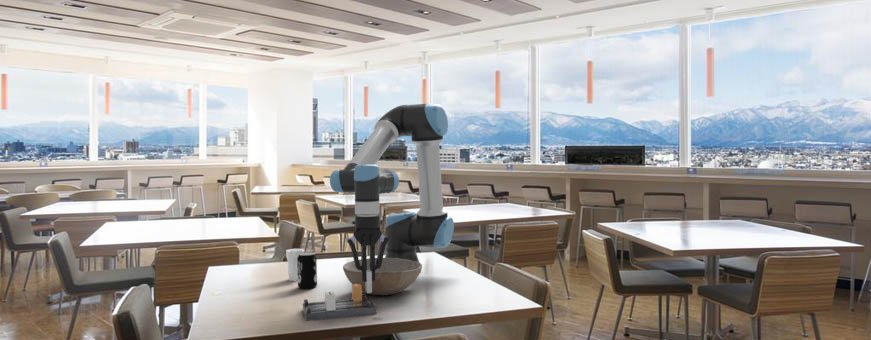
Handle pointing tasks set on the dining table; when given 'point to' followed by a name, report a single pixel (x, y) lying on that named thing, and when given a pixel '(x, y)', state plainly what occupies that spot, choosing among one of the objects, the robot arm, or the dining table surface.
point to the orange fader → (356, 292)
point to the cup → (293, 263)
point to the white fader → (330, 301)
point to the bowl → (386, 275)
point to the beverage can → (307, 270)
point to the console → (339, 309)
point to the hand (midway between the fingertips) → (368, 291)
